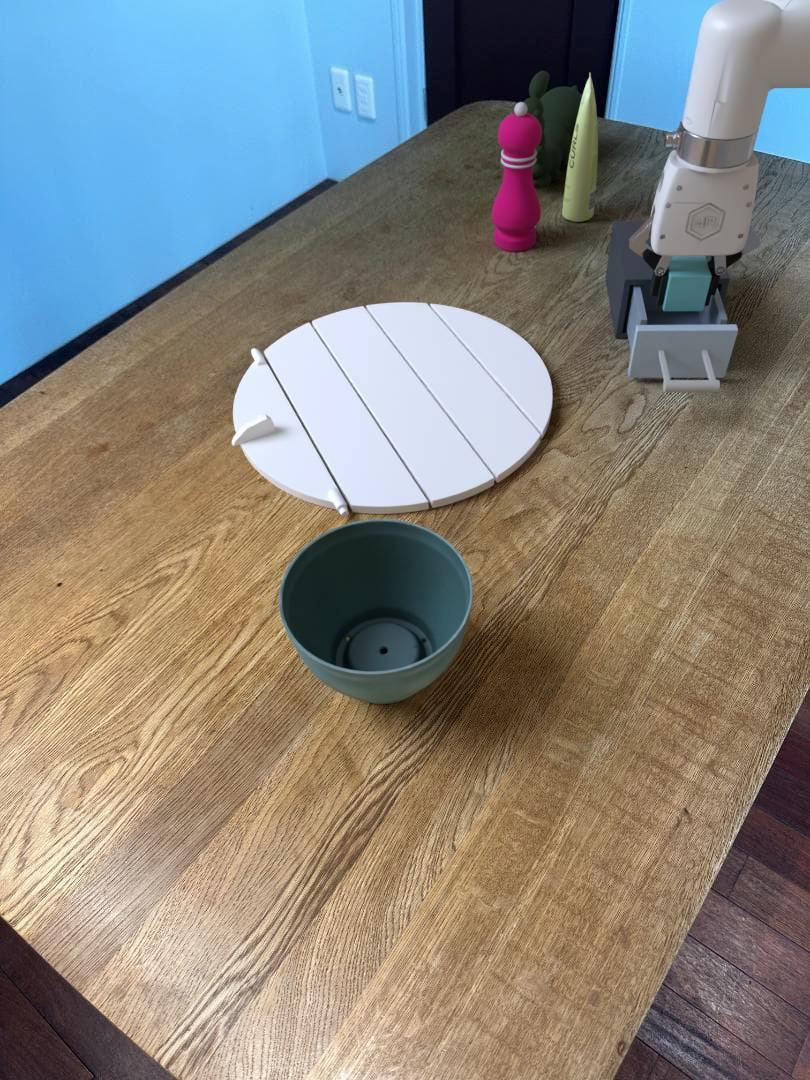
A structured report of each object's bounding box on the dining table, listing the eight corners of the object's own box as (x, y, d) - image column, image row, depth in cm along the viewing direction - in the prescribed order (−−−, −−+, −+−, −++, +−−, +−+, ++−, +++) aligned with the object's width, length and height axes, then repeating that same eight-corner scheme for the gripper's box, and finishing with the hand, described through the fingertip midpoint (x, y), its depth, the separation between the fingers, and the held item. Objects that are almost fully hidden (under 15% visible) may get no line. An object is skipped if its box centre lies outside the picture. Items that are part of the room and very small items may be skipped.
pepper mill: (482, 246, 124) (484, 107, 109) (506, 225, 127) (511, 88, 112) (523, 258, 121) (531, 117, 106) (547, 236, 124) (558, 97, 109)
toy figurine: (552, 213, 132) (597, 137, 145) (559, 93, 117) (609, 20, 130) (498, 205, 135) (547, 130, 148) (498, 87, 120) (552, 15, 133)
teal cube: (696, 290, 99) (705, 255, 95) (703, 311, 96) (712, 276, 92) (658, 290, 99) (665, 255, 96) (663, 311, 96) (670, 276, 93)
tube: (552, 213, 129) (563, 79, 115) (576, 203, 131) (590, 70, 116) (576, 226, 126) (590, 91, 111) (601, 216, 128) (618, 81, 113)
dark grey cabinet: (714, 338, 105) (730, 278, 99) (615, 338, 106) (624, 279, 100) (696, 277, 115) (709, 219, 108) (605, 278, 116) (613, 220, 109)
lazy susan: (286, 564, 84) (280, 543, 81) (193, 362, 108) (186, 340, 106) (616, 443, 93) (620, 419, 90) (462, 281, 117) (462, 260, 115)
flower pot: (485, 605, 79) (487, 530, 71) (454, 755, 69) (453, 689, 61) (327, 581, 82) (311, 507, 74) (275, 722, 72) (250, 654, 64)
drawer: (736, 416, 94) (751, 368, 88) (635, 416, 95) (644, 368, 89) (705, 314, 107) (717, 267, 102) (617, 315, 108) (625, 268, 103)
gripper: (635, 161, 82) (611, 318, 95) (810, 157, 80) (760, 317, 94) (628, 130, 87) (605, 283, 100) (792, 126, 85) (747, 282, 99)
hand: (680, 298), depth 97 cm, fingers closed on teal cube, 4 cm apart
